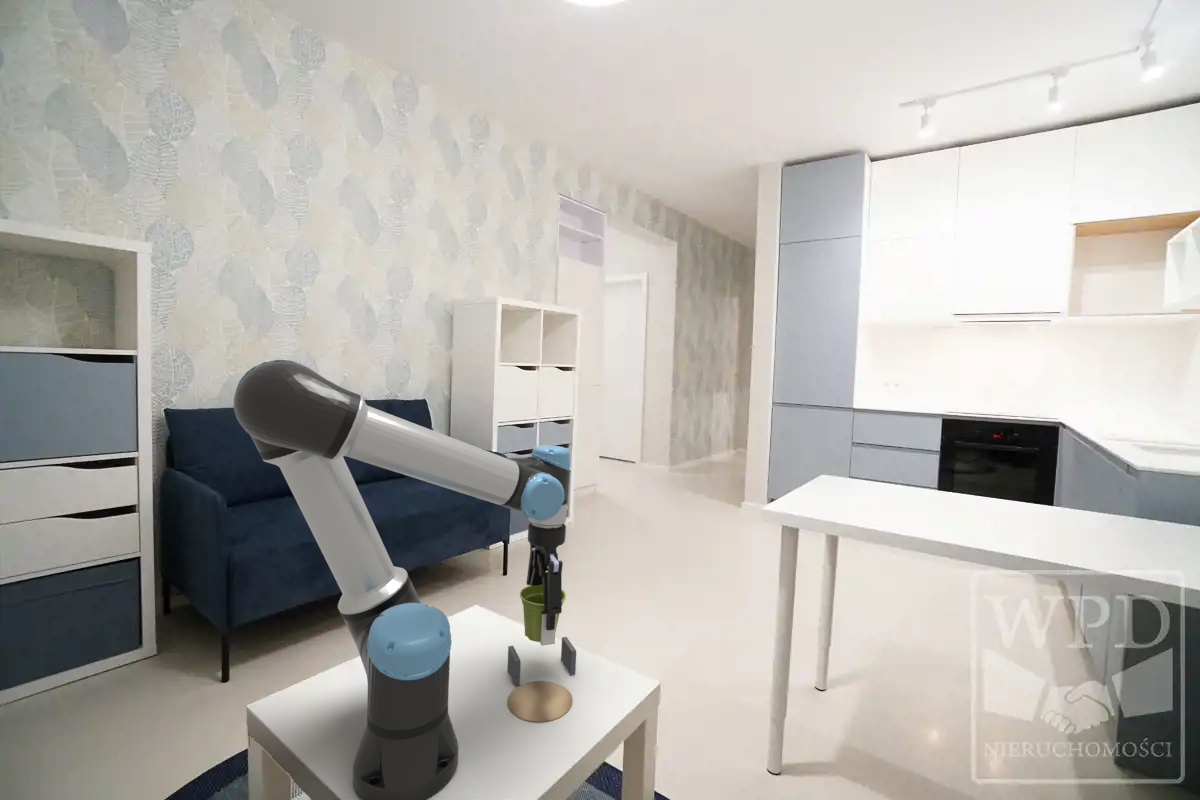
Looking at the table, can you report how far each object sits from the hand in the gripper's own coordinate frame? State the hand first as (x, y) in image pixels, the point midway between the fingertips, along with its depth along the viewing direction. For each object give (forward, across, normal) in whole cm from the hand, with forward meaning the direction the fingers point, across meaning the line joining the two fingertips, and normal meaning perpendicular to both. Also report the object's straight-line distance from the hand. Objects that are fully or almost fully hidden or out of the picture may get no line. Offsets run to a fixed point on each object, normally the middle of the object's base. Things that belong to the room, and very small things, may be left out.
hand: (540, 633), depth 108 cm
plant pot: (+1, 0, 0) cm, 1 cm away
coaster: (+8, -9, +2) cm, 12 cm away
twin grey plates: (+8, 0, -1) cm, 8 cm away
